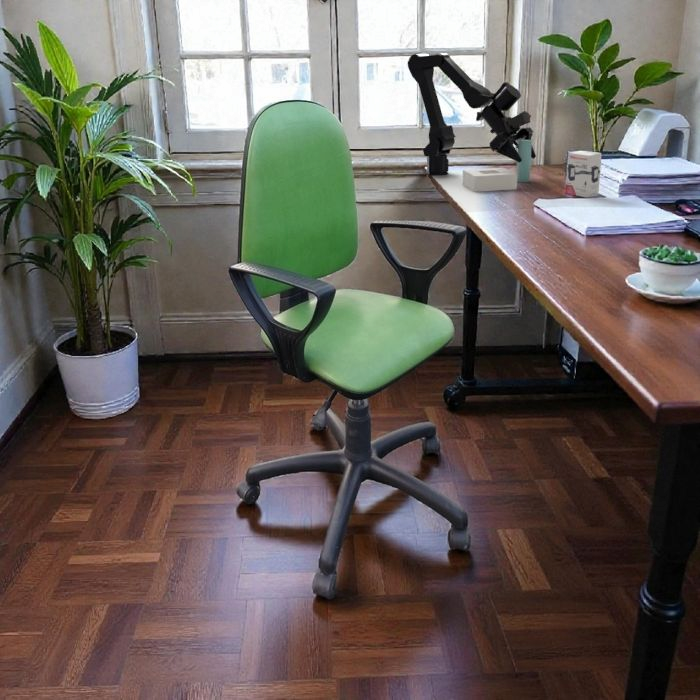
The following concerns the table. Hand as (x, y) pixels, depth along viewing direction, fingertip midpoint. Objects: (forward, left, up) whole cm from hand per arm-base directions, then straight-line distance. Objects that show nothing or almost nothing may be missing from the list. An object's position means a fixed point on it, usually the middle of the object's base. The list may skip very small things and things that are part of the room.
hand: (527, 159), depth 236 cm
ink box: (+7, -25, -7) cm, 27 cm away
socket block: (-14, -5, -7) cm, 16 cm away
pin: (-1, +1, -7) cm, 7 cm away
